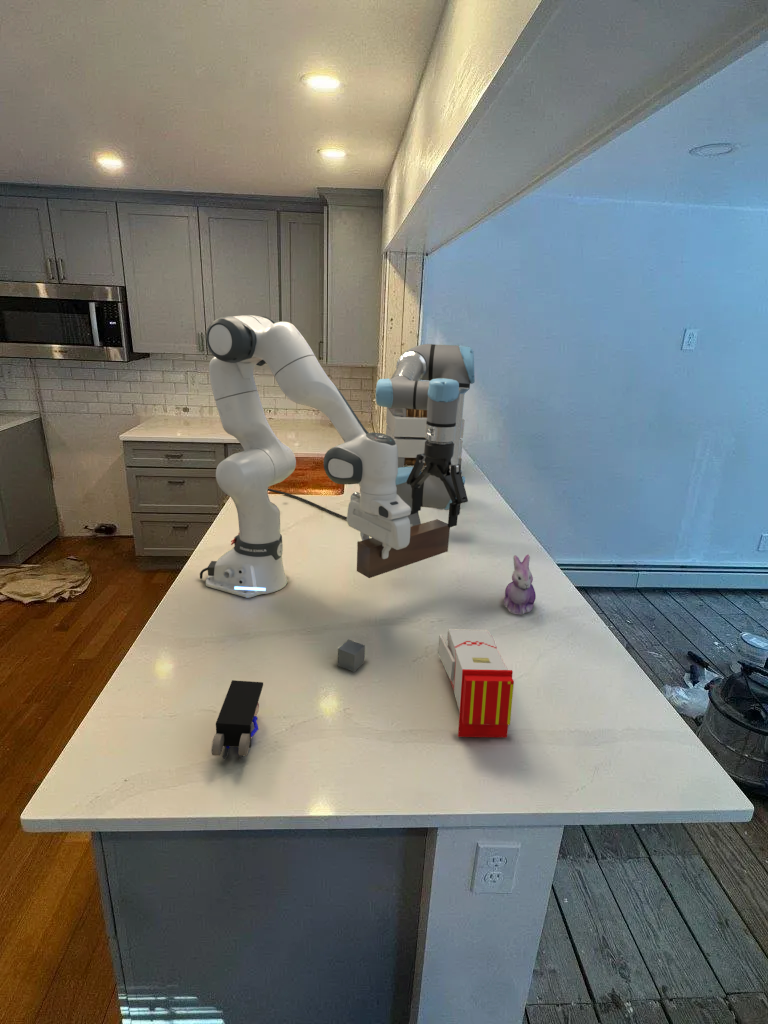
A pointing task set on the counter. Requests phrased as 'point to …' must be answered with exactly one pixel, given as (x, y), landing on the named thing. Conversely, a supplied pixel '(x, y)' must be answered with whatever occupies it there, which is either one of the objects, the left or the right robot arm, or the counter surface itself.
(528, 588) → the figurine
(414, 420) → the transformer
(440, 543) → the walnut plank
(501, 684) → the toy
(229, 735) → the black wheeled block
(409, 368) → the right robot arm
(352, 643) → the slate block
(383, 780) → the counter surface
